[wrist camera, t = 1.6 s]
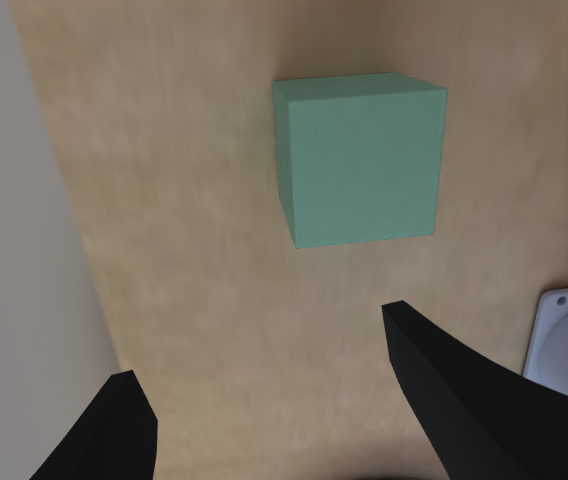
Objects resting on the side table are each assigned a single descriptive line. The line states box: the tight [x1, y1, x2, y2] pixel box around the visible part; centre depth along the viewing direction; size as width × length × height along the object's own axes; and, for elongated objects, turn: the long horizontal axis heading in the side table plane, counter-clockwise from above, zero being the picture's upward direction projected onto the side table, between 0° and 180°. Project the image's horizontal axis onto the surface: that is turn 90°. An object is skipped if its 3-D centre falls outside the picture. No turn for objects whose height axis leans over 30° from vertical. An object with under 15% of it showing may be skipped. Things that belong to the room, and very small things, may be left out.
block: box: [272, 72, 448, 249], centre depth 17 cm, size 5×5×5 cm
